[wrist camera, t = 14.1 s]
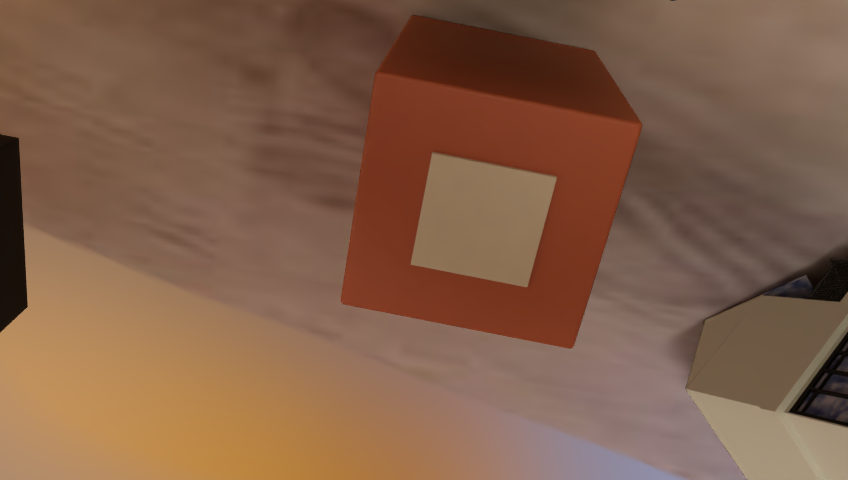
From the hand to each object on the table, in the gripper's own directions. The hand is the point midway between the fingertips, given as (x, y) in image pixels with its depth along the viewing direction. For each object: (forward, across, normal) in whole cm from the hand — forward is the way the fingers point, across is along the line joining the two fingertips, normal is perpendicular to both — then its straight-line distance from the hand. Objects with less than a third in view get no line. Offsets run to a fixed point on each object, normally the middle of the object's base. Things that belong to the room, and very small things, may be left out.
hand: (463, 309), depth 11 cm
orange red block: (+11, 0, 0) cm, 11 cm away
